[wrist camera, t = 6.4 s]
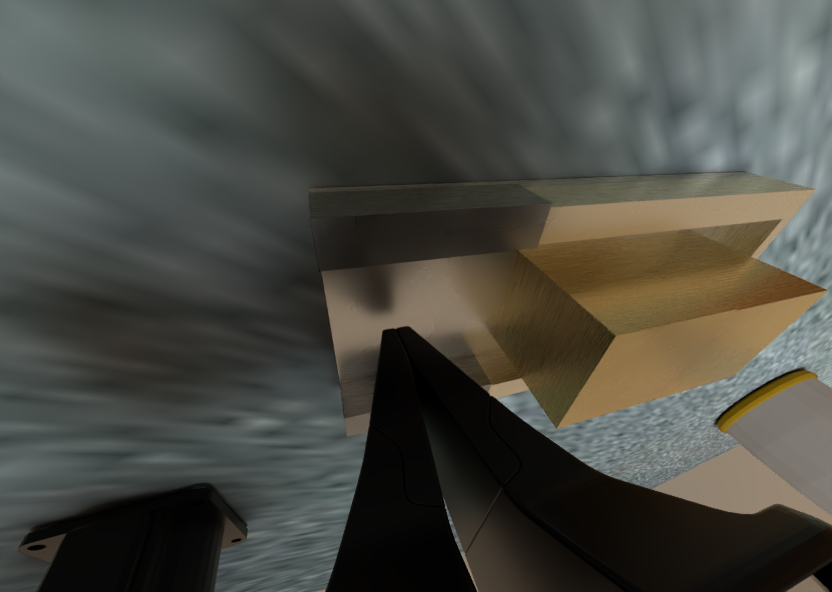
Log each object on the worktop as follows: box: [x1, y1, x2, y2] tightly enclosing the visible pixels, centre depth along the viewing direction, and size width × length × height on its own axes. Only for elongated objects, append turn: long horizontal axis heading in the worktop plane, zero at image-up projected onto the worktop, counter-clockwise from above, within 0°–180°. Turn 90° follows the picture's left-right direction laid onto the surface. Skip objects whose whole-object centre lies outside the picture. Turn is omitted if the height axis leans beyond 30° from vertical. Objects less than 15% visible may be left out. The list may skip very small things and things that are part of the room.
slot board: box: [309, 172, 816, 437], centre depth 11 cm, size 16×8×2 cm, turn 86°
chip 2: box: [618, 232, 828, 400], centre depth 11 cm, size 4×4×4 cm
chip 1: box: [494, 240, 737, 429], centre depth 10 cm, size 4×4×4 cm
